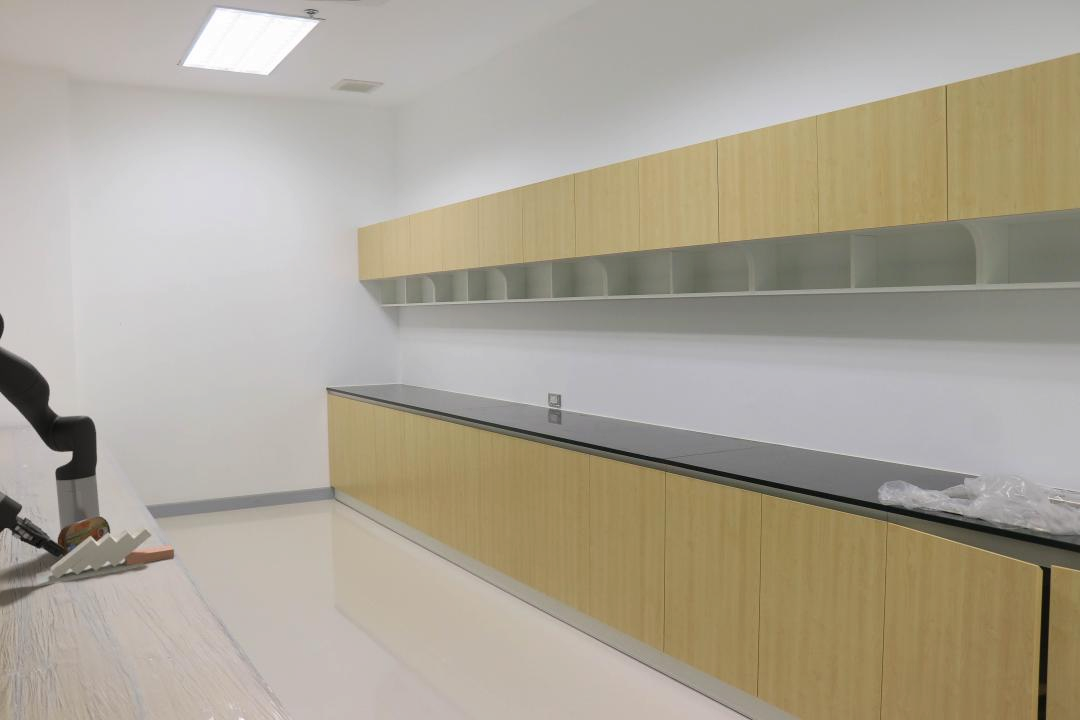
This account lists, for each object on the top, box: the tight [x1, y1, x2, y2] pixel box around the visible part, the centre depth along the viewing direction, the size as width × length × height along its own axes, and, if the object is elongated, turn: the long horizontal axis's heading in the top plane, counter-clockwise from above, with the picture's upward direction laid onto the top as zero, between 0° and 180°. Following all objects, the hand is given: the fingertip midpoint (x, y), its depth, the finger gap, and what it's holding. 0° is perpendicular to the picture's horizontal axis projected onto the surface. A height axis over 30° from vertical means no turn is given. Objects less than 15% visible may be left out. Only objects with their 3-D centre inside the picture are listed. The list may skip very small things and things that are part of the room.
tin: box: [57, 516, 111, 558], centre depth 204 cm, size 15×3×8 cm, turn 168°
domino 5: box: [125, 544, 175, 565], centre depth 194 cm, size 5×2×10 cm
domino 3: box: [90, 528, 134, 571], centre depth 189 cm, size 5×2×10 cm
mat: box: [36, 558, 146, 587], centre depth 187 cm, size 12×21×1 cm, turn 122°
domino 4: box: [108, 525, 152, 567], centre depth 191 cm, size 5×2×10 cm
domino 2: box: [71, 533, 116, 575], centre depth 187 cm, size 5×2×10 cm
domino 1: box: [50, 536, 98, 578], centre depth 185 cm, size 5×2×10 cm
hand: (61, 553), depth 184 cm, fingers closed
